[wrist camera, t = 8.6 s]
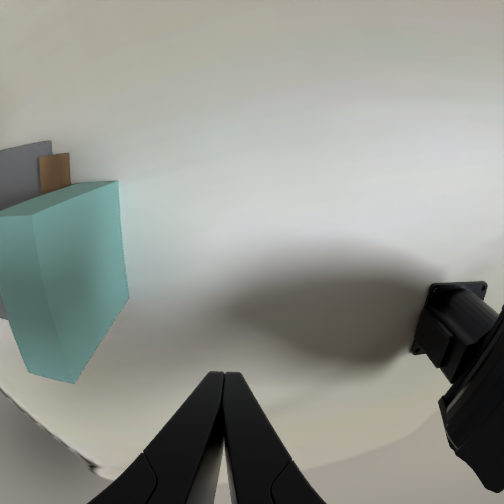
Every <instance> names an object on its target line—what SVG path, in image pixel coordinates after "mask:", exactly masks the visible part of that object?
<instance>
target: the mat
mask: <svg viewBox="0 0 504 504" xmlns="http://www.w3.org/2000/svg"><path fill="white" fill-rule="evenodd" d="M50 155H52V146H51V141H44V142H39V143H34V144H29V145H24V146H19V147H14V148H10V149H6V150H1V151H0V211H2V210H4V209H7V208H9V207H12V206H14V205H17V204H20V203H22V202H25V201H27V200H30V199H33V198H36V197H38V196H41V195H42V193H41V180H40V162H39V157H44V156H50ZM0 318H2V319H7V320H8V317H7V314H6V311H5V308H4V304H3V301H2V298H1V294H0Z"/></svg>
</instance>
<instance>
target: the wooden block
mask: <svg viewBox="0 0 504 504" xmlns="http://www.w3.org/2000/svg"><path fill="white" fill-rule="evenodd" d="M39 162H40V180H41V193H42V195H44V194H47V193H50V192H53V191H56V190H59V189H62V188H65V187H68V186H71V183H70V164H69V153H64V154H57V155H50V156H44V157H39Z"/></svg>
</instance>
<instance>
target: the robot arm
mask: <svg viewBox="0 0 504 504" xmlns="http://www.w3.org/2000/svg"><path fill="white" fill-rule="evenodd" d="M483 286H484V287H483ZM482 287H483V288H482ZM435 288H437V289H436V291H435V292H433V290H434V289H435ZM486 290H487V283H486V282H484V281H479V282H455V283H434V284H432V285H431V286H430V288H429V291H428V295H427V298H426V302H425V306H424V309H423V311H422V313H421V316H420V320H419V323H418V326H417V329H416V333H415V336H414V338H415V339H414V342H413V345H412V348H411V352H412V354H413V355H420V354H427V356H428V357H429V359H430V360H431V361H432V363H433V364H434V365H435V367H436V368H440V369H441V371H442V372H443V373H444V375H445V376H446V378H447V379H448V380H449V382H450V383H451V384H453V385H452V386H451V388H450V389H449V390H448V391H447V393H446V394H445V395H444V396H442V397H441V398H440V400H439V401H438V404H439V407H440V411H441V415H442V419H443V423H444V427H445V431H446V436H447V439H448V442H449V446H450V447H451V449H453V450H454V452H455V454H456V456H458V457H459V458H461V459H462V460H463V461H465V462H466V463H467V464H468V465H469V466H470V467H471V468H472V469H473V471H474V472H475V473H476V475H477V476H478V478H479V479H480V481H481V482H482V484H483V485H484V487H485V488H486V489H488V490H490V491H493V492H495V493H500V492H501V491H503V490H504V305H503V307H502V311H501V313H500V314H498V313H497V312H496V311H494V310H493V309H492V308H491V307H490V306H489V305H487V304H486V303H485V302H484V301H483V300H484V297H485V294H486ZM417 348H418V349H417ZM416 349H417V350H416ZM415 350H416V351H415ZM224 444H225V456H226V464H227V472H228V480H229V488H230V495H231V502H232V504H326V503H325V502H324V501H323V499H322V498H321V497H320V496H319V495H318V494H317V492H316V491H315V490H314V489H313V488H312V487H311V485H310V484H309V482H308V481H307V480H306V478H305V477H304V476H303V474H302V473H301V471H300V470H299V468H298V467H297V465H296V464H295V462H294V461H293V460H292V458H291V456H290V454H289V453H288V451H287V450H286V448H285V446H284V445H283V443H282V442H281V440H280V438H279V437H278V435H277V433H276V432H275V430H274V429H273V427H272V425H271V424H270V422H269V420H268V419H267V417H266V415H265V414H264V412H263V410H262V408H261V407H260V405H259V403H258V402H257V400H256V398H255V396H254V395H253V393H252V391H251V390H250V388H249V386H248V384H247V382H246V381H245V379H244V377H243V375H242V374H241V373H240V372H226V373H224V372H217V371H210V372H209V373H208V374H207V375H206V376H205V377H204V379H203V380H202V381H201V382H200V384H199V385H198V386H197V387H196V388H195V390H194V391H193V392H192V393H191V395H190V396H189V397H188V398H187V399H186V401H185V402H184V403H183V404H182V405H181V407H180V408H179V409H178V410H177V411H176V413H175V414H174V415H173V416H172V417H171V419H170V420H169V421H168V422H167V423H166V425H165V426H164V427H163V428H162V429H161V431H160V432H159V433H158V434H157V435H156V436H155V438H154V439H153V440H152V441H151V442H150V443H149V445H148V446H147V447H146V448H145V449H144V450H143V453H141V454H140V455H139V456H138V457H137V458H136V459H135V461H134V462H133V463H132V464H131V465H130V466H129V467H128V468H127V469H126V470H125V471H124V472H123V473H122V474H121V475H120V476H119V477H118V478H117V479H116V480H115V481H114V482H113V483H112V484H110V485H109V486H108V487H107V488H106V489H104V490H103V491H102V492H101V493H100V494H98V495H97V496H96V497H95V498H93V499H92V500H91V501H90V502H88V503H87V504H214V498H215V492H216V487H217V482H218V476H219V471H220V465H221V460H222V454H223V447H224Z"/></svg>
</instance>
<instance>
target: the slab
mask: <svg viewBox="0 0 504 504" xmlns="http://www.w3.org/2000/svg"><path fill="white" fill-rule="evenodd" d="M0 294H1V298H2V301H3V304H4V308H5V311H6V314H7V317H8V320H9V323H10V326H11V329H12V332H13V335H14V337H15V340H16V343H17V345H18V348H19V350H20V353H21V355H22V358H23V360H24V363H25V365H26V367H27V370H28V372H29V373H32V374H35V375H39V376H43V377H47V378H51V379H55V380H59V381H63V382H67V383H72V384H75V383H76V381H77V379H78V378H79V376H80V374H81V373H82V371H83V369H84V368H85V366H86V364H87V363H88V361H89V359H90V358H91V356H92V355H93V353H94V351H95V350H96V348H97V347H98V345H99V343H100V342H101V340H102V339H103V337H104V335H105V334H106V332H107V331H108V329H109V328H110V326H111V325H112V323H113V322H114V320H115V318H116V317H117V315H118V314H119V312H120V311H121V309H122V308H123V306H124V305H125V303H126V302H127V300H128V299H129V292H128V285H127V278H126V270H125V261H124V252H123V243H122V232H121V219H120V205H119V185H118V181H106V182H88V183H77V184H74V185H71V186H68V187H65V188H62V189H59V190H56V191H53V192H50V193H47V194H44V195H41V196H38V197H36V198H33V199H30V200H27V201H25V202H22V203H20V204H17V205H14V206H12V207H9V208H7V209H4V210H2V211H0Z"/></svg>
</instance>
